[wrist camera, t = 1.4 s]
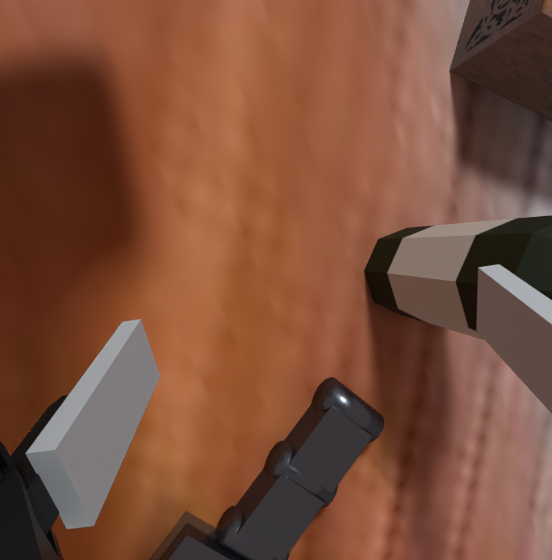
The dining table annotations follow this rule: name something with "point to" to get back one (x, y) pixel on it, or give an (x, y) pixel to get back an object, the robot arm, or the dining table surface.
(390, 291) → the wine bottle
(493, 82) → the tissue box cover
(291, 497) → the chain ends
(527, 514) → the dining table surface
